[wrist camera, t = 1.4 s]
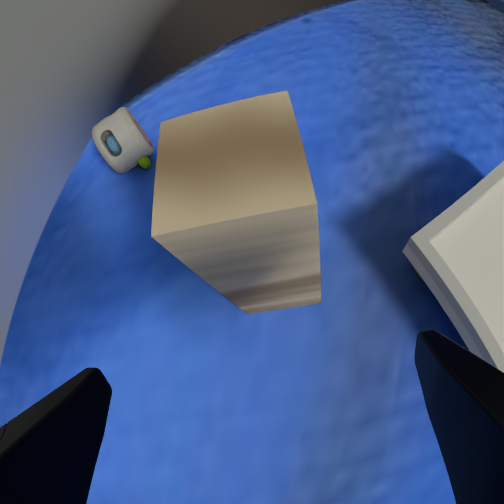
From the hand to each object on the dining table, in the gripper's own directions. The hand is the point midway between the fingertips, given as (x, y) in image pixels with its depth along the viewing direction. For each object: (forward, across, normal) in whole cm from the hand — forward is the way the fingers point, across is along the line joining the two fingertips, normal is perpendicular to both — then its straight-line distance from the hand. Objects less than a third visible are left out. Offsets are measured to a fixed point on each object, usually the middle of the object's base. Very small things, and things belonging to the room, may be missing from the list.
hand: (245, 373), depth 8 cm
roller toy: (+24, +12, -6) cm, 27 cm away
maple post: (+14, 0, +4) cm, 14 cm away
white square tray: (+11, -17, +7) cm, 21 cm away
